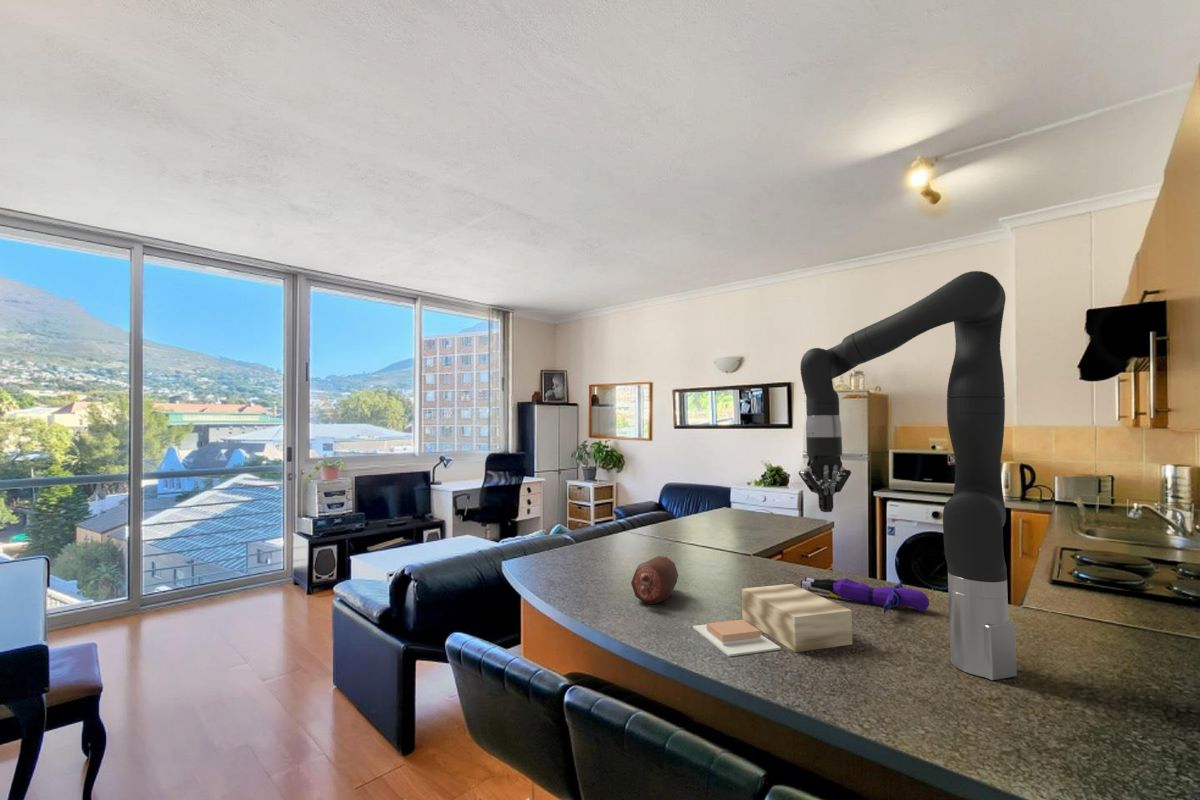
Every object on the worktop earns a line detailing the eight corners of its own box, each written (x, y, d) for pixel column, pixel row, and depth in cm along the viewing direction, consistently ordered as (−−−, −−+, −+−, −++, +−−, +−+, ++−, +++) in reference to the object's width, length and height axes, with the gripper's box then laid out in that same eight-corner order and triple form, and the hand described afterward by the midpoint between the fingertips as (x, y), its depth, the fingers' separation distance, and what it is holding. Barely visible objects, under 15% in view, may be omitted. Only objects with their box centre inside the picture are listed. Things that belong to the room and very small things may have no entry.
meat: (647, 586, 153) (647, 550, 154) (686, 591, 148) (686, 554, 149) (622, 606, 135) (622, 565, 136) (665, 613, 130) (665, 570, 131)
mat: (780, 649, 109) (780, 647, 109) (728, 656, 105) (728, 654, 105) (739, 622, 124) (739, 620, 124) (692, 627, 121) (692, 625, 121)
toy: (788, 607, 137) (923, 631, 119) (787, 585, 137) (922, 606, 119) (817, 582, 159) (935, 600, 141) (816, 563, 159) (934, 579, 141)
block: (852, 644, 111) (851, 610, 112) (795, 652, 107) (794, 617, 108) (792, 612, 130) (792, 583, 131) (742, 618, 127) (741, 588, 127)
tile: (722, 635, 110) (722, 645, 110) (760, 630, 113) (760, 640, 112) (706, 623, 117) (706, 632, 117) (742, 619, 119) (742, 628, 119)
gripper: (810, 435, 116) (812, 515, 115) (859, 435, 120) (862, 512, 119) (788, 435, 123) (791, 510, 122) (836, 435, 127) (838, 508, 126)
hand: (826, 511), depth 121 cm, fingers closed
